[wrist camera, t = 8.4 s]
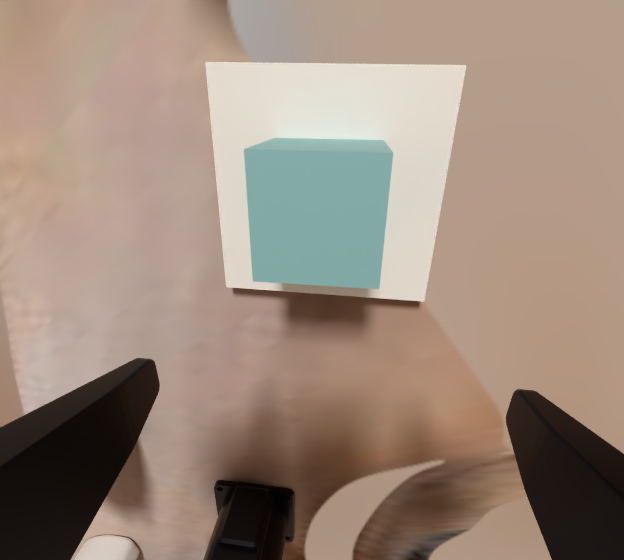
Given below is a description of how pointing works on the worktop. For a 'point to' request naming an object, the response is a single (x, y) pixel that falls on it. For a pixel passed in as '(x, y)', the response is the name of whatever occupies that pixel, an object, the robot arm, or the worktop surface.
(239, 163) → the coaster
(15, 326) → the worktop surface
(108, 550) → the eye dropper bottle
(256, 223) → the teal cube
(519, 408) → the robot arm
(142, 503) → the worktop surface
